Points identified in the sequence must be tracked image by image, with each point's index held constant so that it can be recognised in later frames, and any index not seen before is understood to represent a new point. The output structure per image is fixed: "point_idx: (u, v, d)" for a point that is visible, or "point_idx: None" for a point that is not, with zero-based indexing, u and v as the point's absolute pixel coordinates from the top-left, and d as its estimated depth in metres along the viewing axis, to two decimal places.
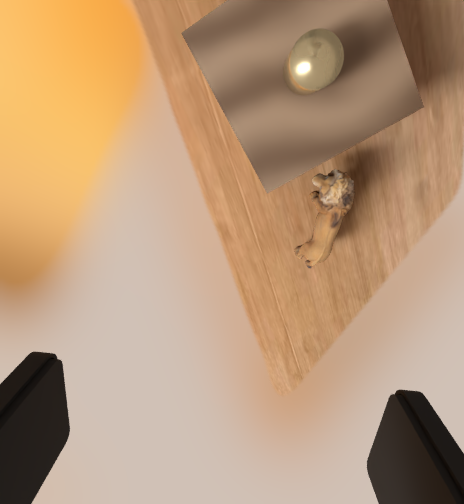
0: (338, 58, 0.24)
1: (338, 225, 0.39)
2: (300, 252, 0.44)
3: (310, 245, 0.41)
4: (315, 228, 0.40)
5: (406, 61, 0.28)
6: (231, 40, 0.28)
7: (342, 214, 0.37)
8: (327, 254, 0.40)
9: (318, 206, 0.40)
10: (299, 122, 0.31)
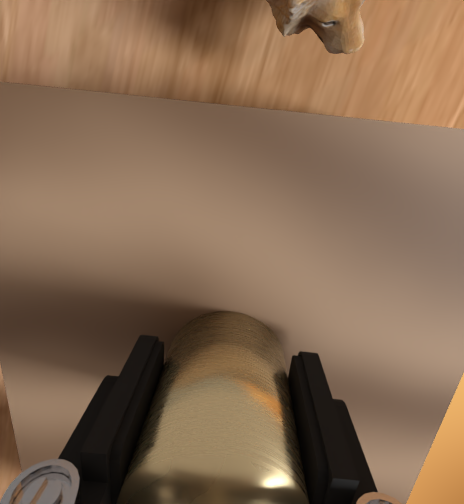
0: (143, 493, 0.06)
1: None
2: None
3: None
4: None
5: None
6: None
7: None
8: None
9: None
10: (311, 271, 0.10)
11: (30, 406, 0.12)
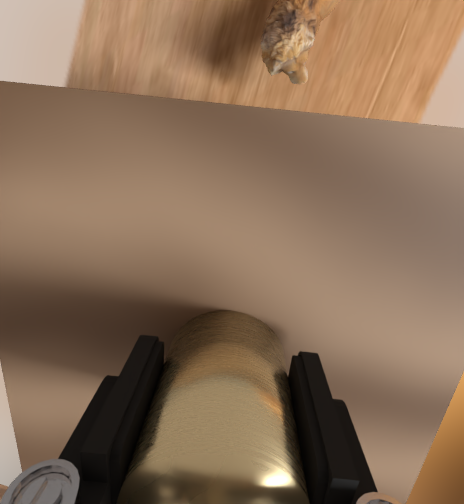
0: (143, 492, 0.06)
1: None
2: None
3: None
4: None
5: None
6: None
7: None
8: None
9: (316, 32, 0.26)
10: (312, 271, 0.10)
11: (30, 405, 0.12)
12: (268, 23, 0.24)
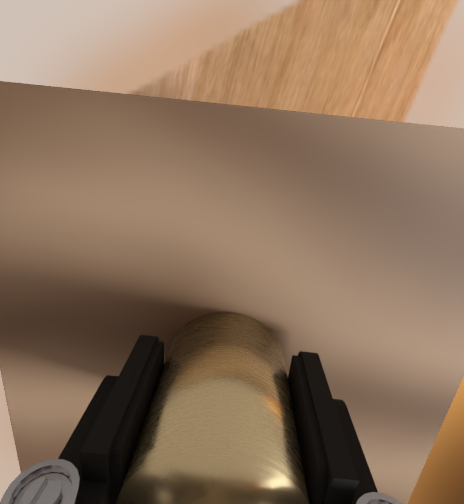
0: (142, 496, 0.06)
1: None
2: None
3: None
4: None
5: None
6: None
7: None
8: None
9: None
10: (312, 272, 0.10)
11: (29, 407, 0.12)
12: None
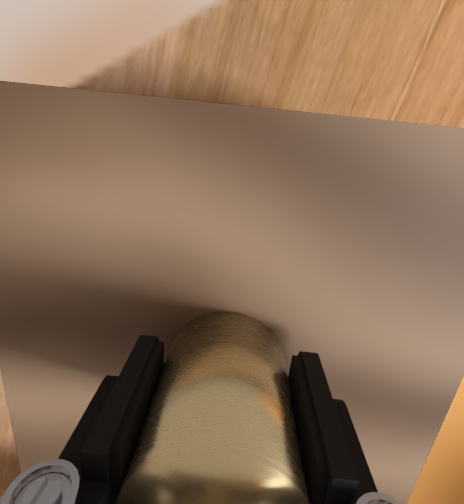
0: (142, 495, 0.06)
1: None
2: None
3: None
4: None
5: None
6: None
7: None
8: None
9: None
10: (312, 271, 0.10)
11: (29, 407, 0.12)
12: None
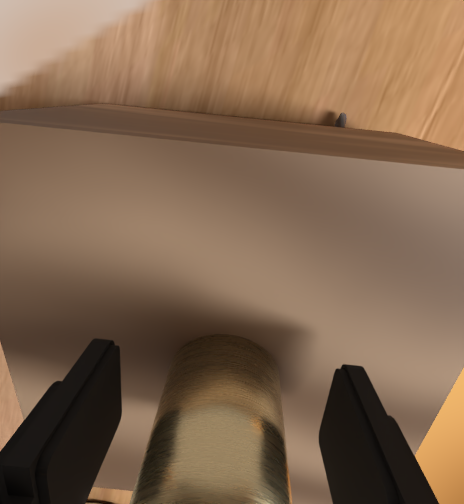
0: None
1: None
2: None
3: None
4: None
5: None
6: (317, 476, 0.14)
7: None
8: None
9: None
10: (306, 300, 0.10)
11: None
12: None
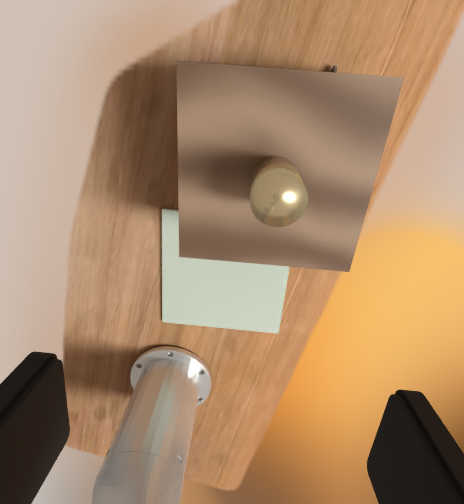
0: (259, 188, 0.22)
1: None
2: None
3: None
4: None
5: (178, 124, 0.25)
6: (316, 243, 0.29)
7: None
8: None
9: None
10: (310, 136, 0.25)
11: (187, 208, 0.28)
12: None
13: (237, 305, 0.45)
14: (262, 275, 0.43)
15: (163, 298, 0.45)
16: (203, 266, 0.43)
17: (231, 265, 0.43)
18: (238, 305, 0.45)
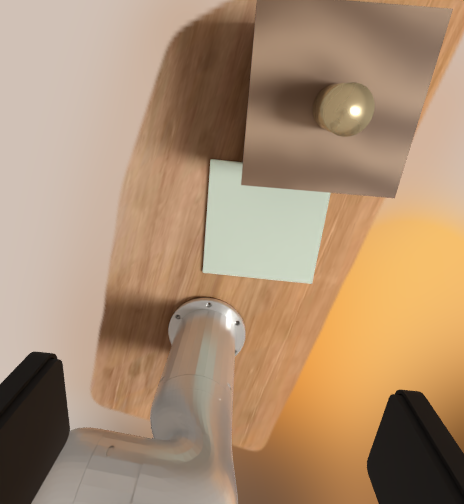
0: (333, 98, 0.26)
1: None
2: None
3: None
4: None
5: (253, 53, 0.29)
6: (367, 169, 0.33)
7: None
8: None
9: None
10: (368, 64, 0.29)
11: (253, 135, 0.32)
12: None
13: (275, 255, 0.48)
14: (300, 224, 0.46)
15: (205, 248, 0.48)
16: (245, 216, 0.46)
17: (271, 215, 0.46)
18: (276, 255, 0.48)
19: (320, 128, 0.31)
